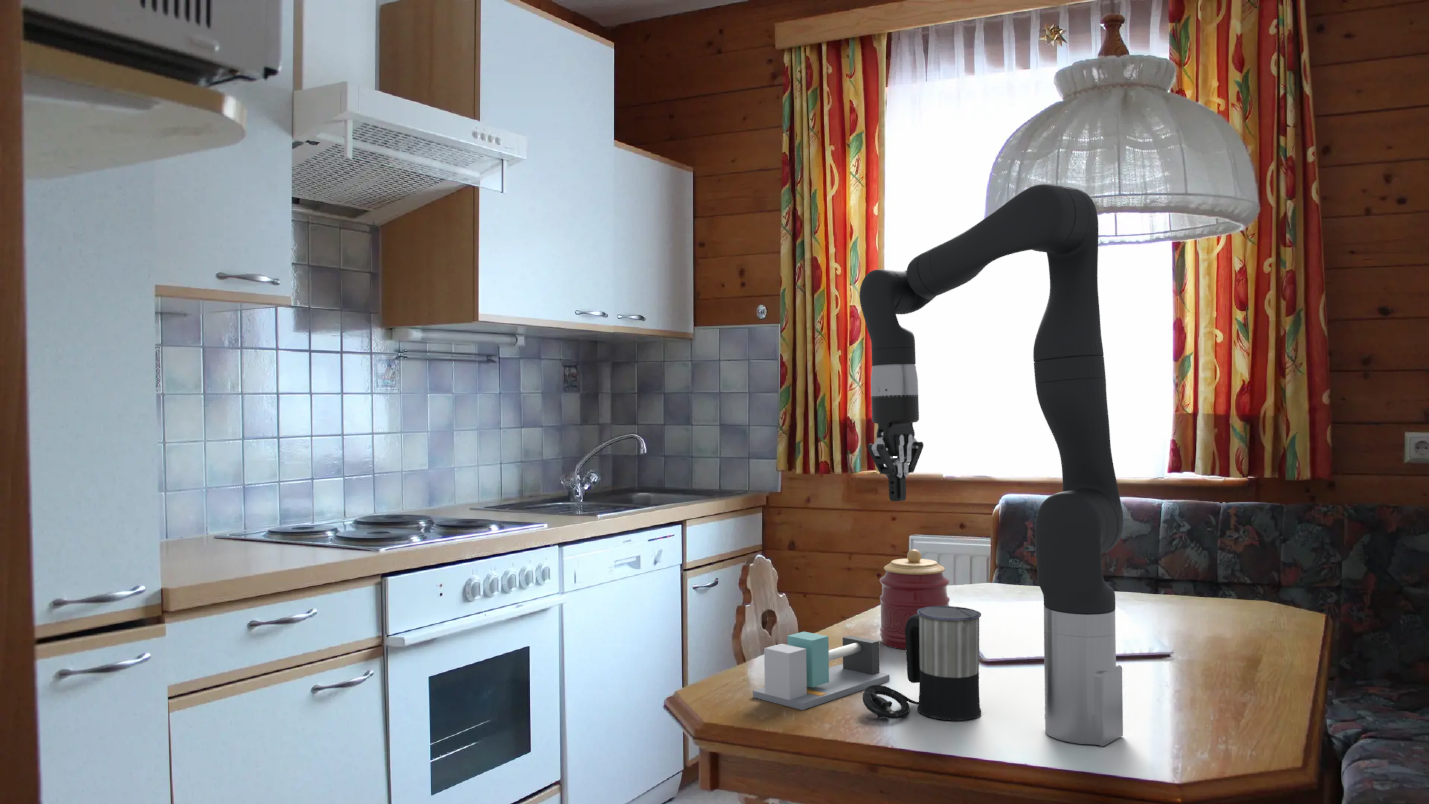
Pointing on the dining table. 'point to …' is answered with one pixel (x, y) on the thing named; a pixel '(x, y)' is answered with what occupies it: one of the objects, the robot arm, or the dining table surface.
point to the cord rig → (853, 676)
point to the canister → (909, 594)
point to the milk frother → (937, 666)
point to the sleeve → (813, 656)
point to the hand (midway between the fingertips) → (897, 500)
